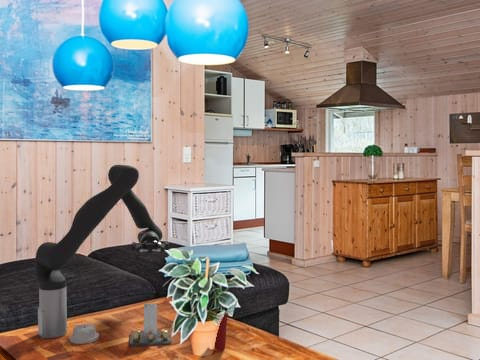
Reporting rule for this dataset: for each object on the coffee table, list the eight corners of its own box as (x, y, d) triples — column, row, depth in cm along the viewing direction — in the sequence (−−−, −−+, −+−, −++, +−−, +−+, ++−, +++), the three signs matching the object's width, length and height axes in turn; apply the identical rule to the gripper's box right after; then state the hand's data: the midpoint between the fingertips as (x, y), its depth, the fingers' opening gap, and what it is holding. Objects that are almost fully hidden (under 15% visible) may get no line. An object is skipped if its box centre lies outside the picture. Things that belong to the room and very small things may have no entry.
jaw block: (144, 338, 176) (143, 307, 175) (144, 334, 180) (144, 303, 180) (157, 337, 177) (157, 307, 176) (156, 333, 181) (156, 303, 180)
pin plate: (129, 346, 171) (129, 334, 171) (130, 333, 183) (130, 323, 183) (171, 343, 174) (171, 332, 174) (169, 331, 186) (169, 321, 185)
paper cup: (230, 344, 174) (230, 304, 173) (224, 353, 166) (225, 311, 165) (208, 342, 175) (208, 302, 175) (202, 350, 168) (202, 309, 167)
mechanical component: (84, 332, 185) (63, 341, 176) (84, 320, 185) (63, 329, 176) (104, 337, 180) (84, 346, 171) (104, 325, 180) (84, 334, 171)
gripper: (132, 233, 202) (130, 240, 186) (167, 233, 205) (169, 239, 189) (132, 252, 203) (130, 260, 187) (167, 251, 205) (169, 259, 189)
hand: (150, 249), depth 188 cm, fingers open, 8 cm apart
